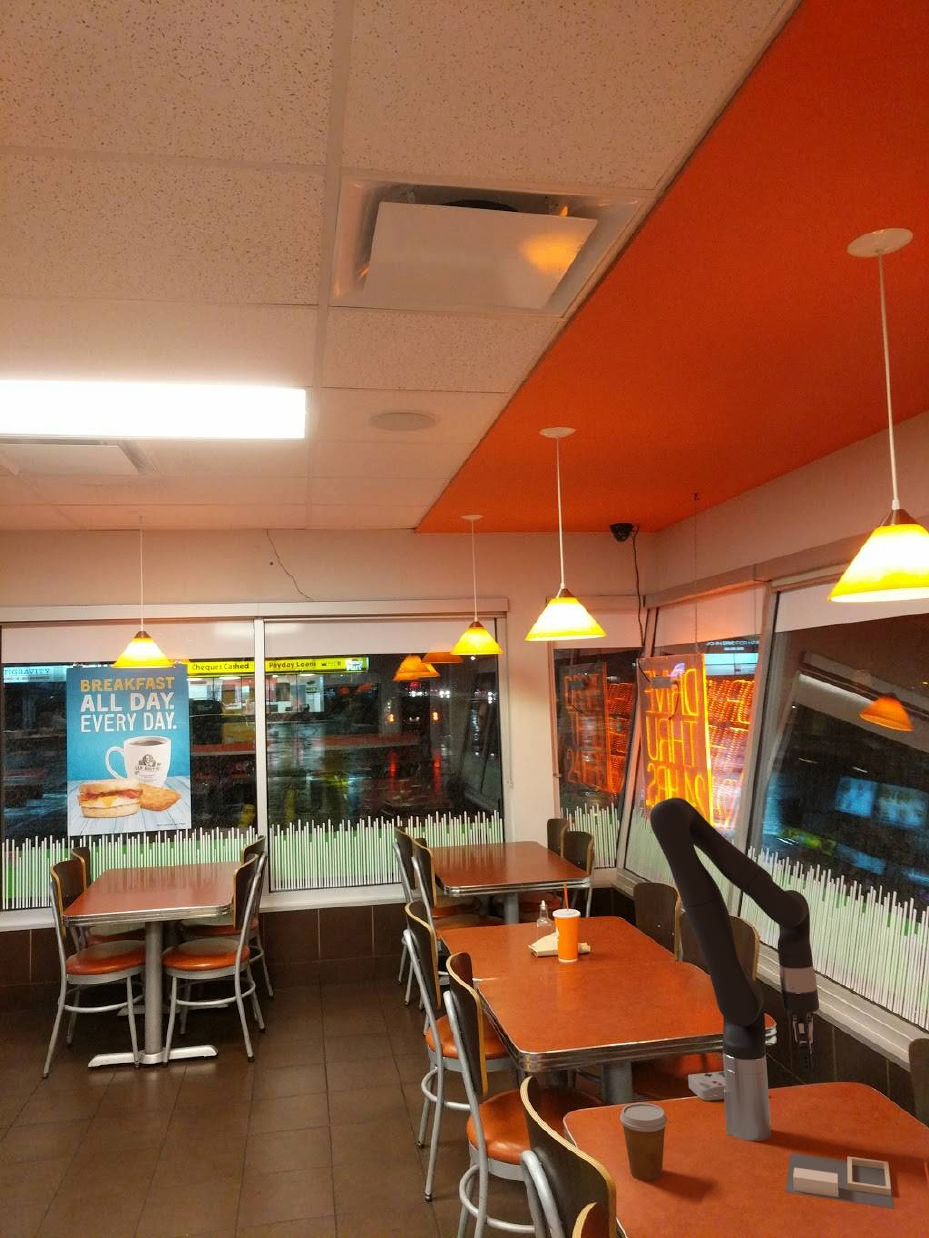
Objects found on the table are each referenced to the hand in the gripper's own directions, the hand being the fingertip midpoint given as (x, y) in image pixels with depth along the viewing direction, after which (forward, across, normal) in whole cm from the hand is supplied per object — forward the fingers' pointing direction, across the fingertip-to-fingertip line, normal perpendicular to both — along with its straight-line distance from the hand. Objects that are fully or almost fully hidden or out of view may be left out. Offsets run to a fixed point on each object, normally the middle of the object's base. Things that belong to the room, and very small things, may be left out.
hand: (807, 1064), depth 196 cm
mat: (+17, +14, +4) cm, 22 cm away
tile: (+16, +19, 0) cm, 25 cm away
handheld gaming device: (+17, -25, -22) cm, 37 cm away
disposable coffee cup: (+16, +22, -32) cm, 42 cm away
